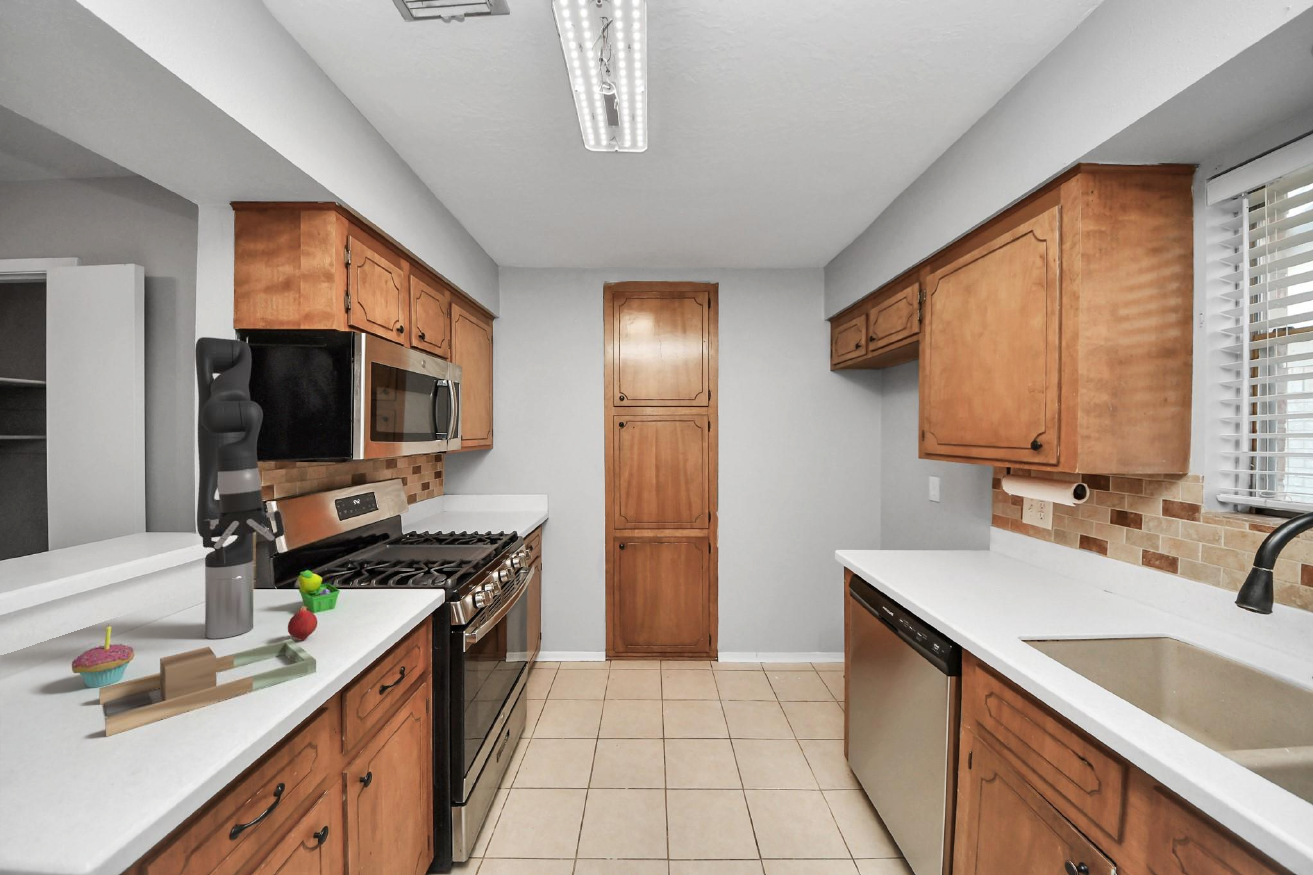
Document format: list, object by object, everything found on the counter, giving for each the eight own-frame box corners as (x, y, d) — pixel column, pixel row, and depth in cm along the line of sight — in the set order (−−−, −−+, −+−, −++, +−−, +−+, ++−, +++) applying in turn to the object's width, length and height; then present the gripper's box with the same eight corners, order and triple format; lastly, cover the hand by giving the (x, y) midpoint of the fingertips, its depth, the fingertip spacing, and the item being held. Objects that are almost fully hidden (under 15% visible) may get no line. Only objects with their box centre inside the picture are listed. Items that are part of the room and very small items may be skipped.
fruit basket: (341, 608, 144) (341, 568, 144) (304, 616, 137) (304, 575, 137) (328, 600, 152) (328, 562, 152) (292, 607, 145) (292, 568, 145)
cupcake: (144, 676, 103) (144, 617, 103) (86, 696, 95) (86, 632, 95) (119, 669, 106) (119, 612, 106) (60, 688, 98) (60, 626, 98)
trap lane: (99, 701, 93) (99, 688, 93) (291, 649, 116) (291, 639, 116) (106, 736, 82) (106, 721, 82) (316, 671, 105) (316, 659, 105)
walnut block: (160, 695, 96) (160, 658, 96) (209, 681, 101) (208, 646, 101) (165, 707, 91) (165, 669, 91) (216, 692, 97) (216, 656, 97)
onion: (302, 646, 118) (302, 611, 118) (281, 644, 119) (281, 610, 119) (323, 636, 124) (323, 603, 124) (303, 634, 125) (303, 602, 125)
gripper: (280, 483, 121) (286, 550, 123) (201, 492, 113) (208, 563, 114) (279, 487, 115) (285, 557, 116) (195, 496, 107) (203, 571, 108)
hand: (247, 560), depth 115 cm, fingers open, 8 cm apart
